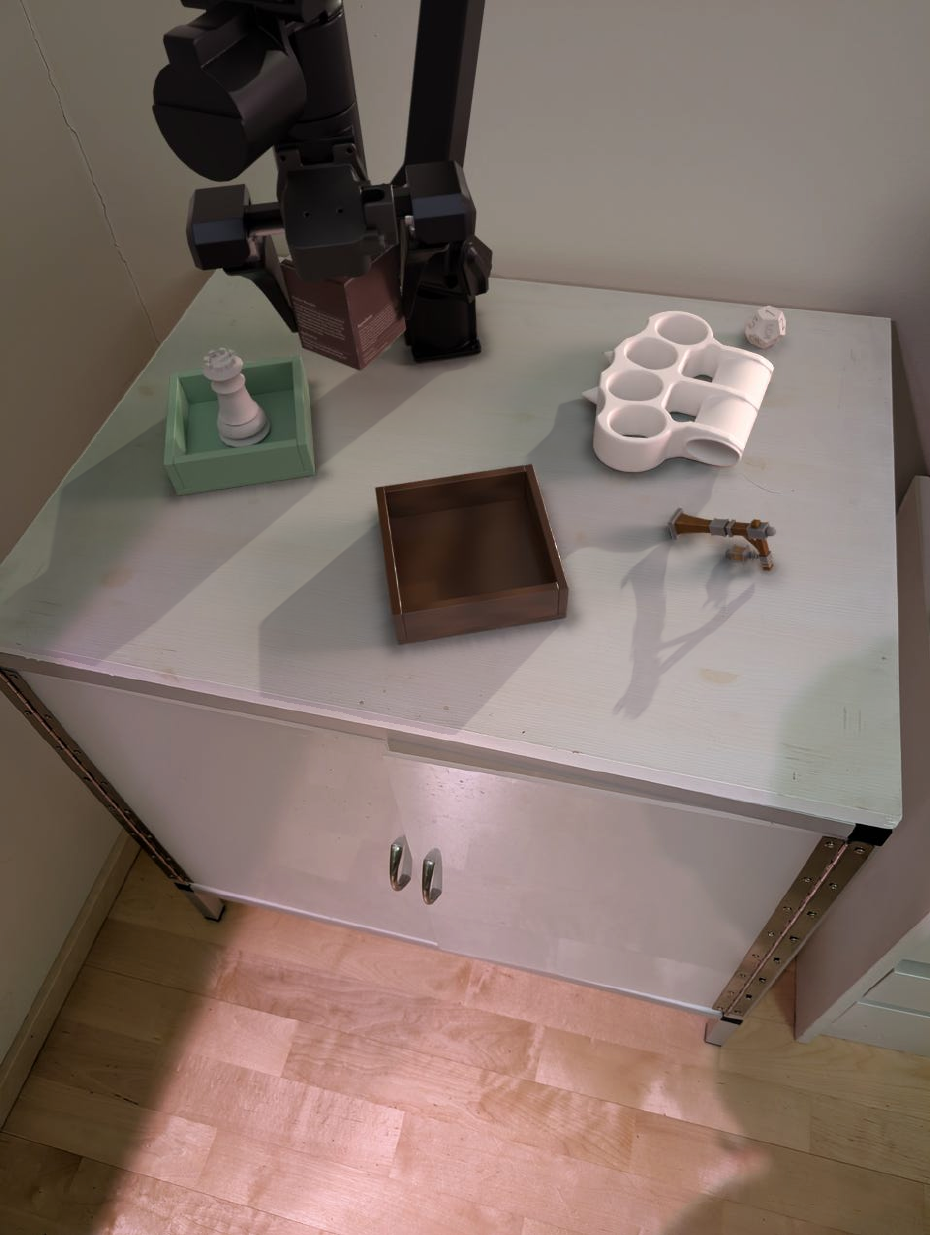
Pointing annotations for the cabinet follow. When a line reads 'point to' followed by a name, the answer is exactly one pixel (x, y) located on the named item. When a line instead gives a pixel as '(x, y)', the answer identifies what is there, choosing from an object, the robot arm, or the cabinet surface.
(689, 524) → the wooden post with brackets
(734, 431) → the white brass knuckles
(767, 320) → the game die
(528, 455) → the cabinet surface
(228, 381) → the rook chess piece
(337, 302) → the box
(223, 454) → the green bin
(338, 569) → the cabinet surface
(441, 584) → the walnut tray
